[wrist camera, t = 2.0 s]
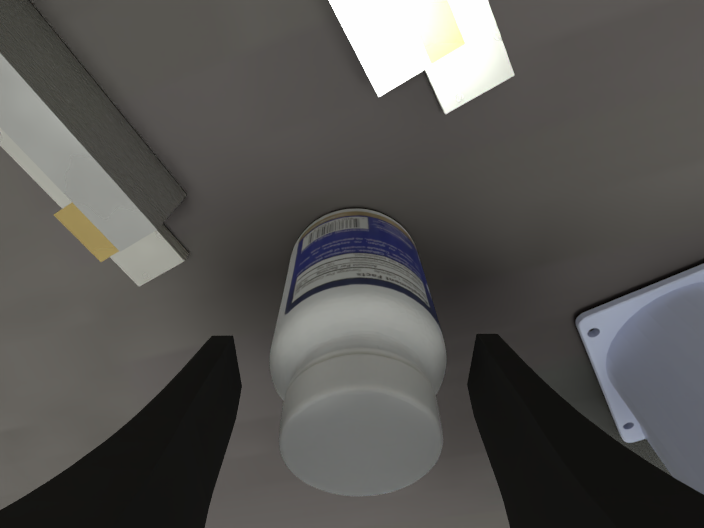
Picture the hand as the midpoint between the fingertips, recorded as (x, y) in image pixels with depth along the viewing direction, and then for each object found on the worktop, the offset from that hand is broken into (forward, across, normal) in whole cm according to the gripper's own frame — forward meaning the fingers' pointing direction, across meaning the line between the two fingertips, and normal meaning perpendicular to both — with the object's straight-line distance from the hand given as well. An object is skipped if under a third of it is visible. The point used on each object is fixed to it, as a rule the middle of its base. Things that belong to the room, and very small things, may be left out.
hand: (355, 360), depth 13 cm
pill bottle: (+6, 0, 0) cm, 6 cm away
